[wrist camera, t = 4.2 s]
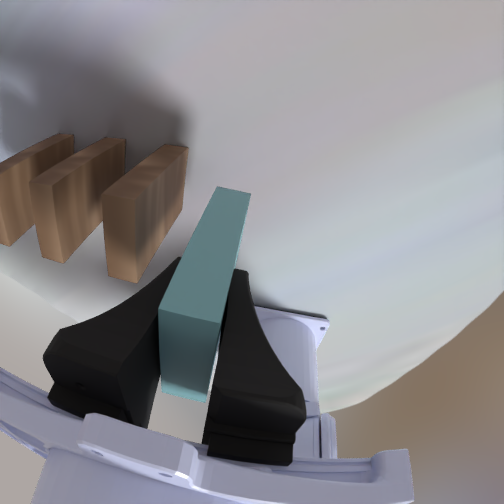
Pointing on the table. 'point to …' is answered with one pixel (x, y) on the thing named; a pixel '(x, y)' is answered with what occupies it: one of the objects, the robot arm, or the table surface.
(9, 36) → the table surface
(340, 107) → the table surface
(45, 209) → the domino
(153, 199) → the domino
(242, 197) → the domino
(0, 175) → the domino
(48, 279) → the table surface
